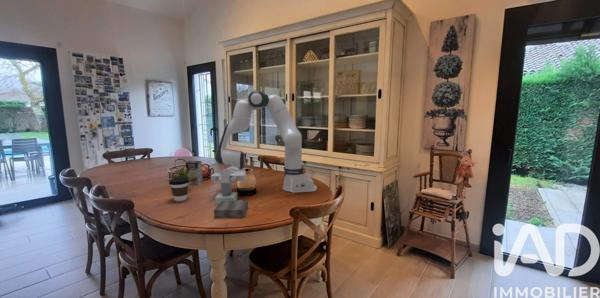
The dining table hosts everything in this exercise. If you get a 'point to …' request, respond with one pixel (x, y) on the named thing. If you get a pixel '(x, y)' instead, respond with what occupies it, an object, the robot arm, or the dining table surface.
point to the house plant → (183, 174)
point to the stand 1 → (225, 197)
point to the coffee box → (194, 172)
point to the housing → (226, 181)
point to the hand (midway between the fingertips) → (225, 180)
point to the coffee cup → (179, 188)
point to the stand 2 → (231, 209)
